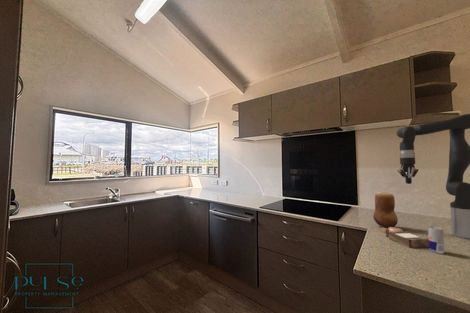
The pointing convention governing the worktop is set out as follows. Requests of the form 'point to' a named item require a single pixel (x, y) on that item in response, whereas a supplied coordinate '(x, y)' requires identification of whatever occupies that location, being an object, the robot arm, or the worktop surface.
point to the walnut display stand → (408, 240)
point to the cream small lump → (395, 229)
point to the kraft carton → (408, 236)
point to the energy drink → (436, 240)
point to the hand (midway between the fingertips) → (408, 183)
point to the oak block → (384, 231)
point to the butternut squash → (385, 210)
